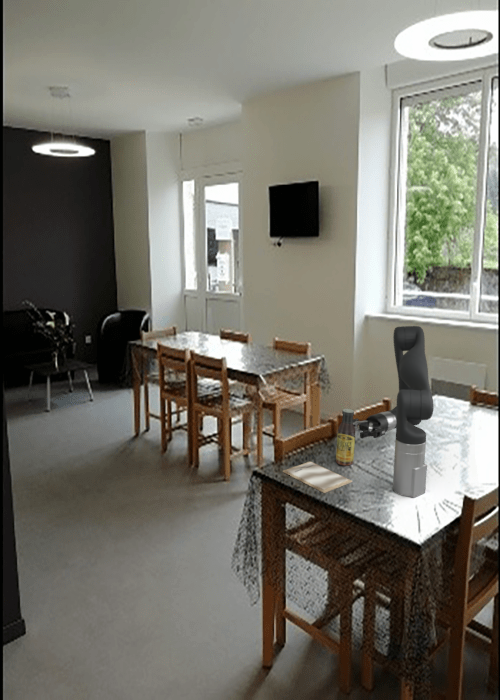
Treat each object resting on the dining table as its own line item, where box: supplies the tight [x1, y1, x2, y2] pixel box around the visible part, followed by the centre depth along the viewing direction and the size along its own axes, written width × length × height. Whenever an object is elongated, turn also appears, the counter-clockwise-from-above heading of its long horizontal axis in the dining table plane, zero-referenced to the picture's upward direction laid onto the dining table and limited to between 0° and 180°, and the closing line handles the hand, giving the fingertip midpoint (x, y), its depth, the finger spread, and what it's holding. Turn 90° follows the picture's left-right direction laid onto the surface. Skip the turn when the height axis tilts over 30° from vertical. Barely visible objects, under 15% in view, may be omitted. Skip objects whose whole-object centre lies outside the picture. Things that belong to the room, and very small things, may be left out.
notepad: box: [282, 461, 353, 494], centre depth 189 cm, size 20×13×1 cm, turn 38°
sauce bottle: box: [335, 408, 356, 467], centre depth 198 cm, size 7×6×20 cm
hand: (351, 432), depth 199 cm, fingers open, 8 cm apart
